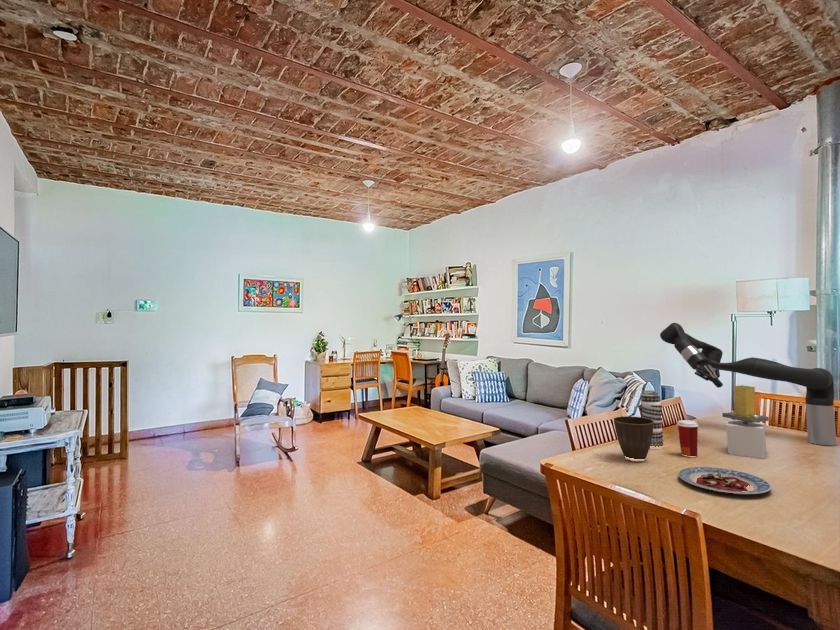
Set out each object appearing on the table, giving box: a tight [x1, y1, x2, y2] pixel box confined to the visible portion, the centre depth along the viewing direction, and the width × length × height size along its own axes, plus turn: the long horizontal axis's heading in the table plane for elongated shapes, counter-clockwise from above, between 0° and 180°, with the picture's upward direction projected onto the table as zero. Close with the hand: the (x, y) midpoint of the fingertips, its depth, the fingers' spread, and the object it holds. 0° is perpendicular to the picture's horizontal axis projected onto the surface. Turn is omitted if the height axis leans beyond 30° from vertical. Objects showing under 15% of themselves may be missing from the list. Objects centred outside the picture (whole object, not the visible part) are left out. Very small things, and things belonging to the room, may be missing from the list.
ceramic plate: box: [677, 466, 772, 495], centre depth 145 cm, size 26×26×3 cm
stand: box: [725, 419, 767, 460], centre depth 180 cm, size 12×12×14 cm
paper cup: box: [676, 419, 699, 457], centre depth 179 cm, size 8×8×14 cm
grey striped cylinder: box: [639, 389, 664, 447], centre depth 193 cm, size 9×9×25 cm
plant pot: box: [613, 416, 654, 460], centre depth 176 cm, size 15×15×16 cm
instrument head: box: [722, 385, 770, 423], centre depth 181 cm, size 12×10×14 cm
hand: (720, 386), depth 190 cm, fingers closed
